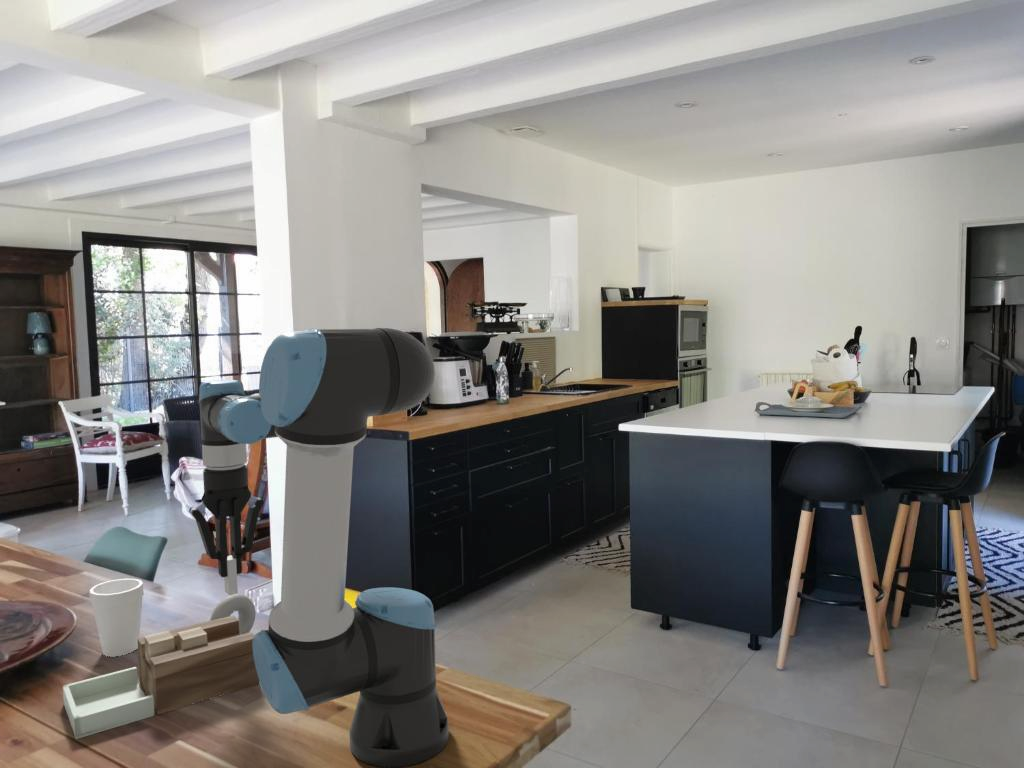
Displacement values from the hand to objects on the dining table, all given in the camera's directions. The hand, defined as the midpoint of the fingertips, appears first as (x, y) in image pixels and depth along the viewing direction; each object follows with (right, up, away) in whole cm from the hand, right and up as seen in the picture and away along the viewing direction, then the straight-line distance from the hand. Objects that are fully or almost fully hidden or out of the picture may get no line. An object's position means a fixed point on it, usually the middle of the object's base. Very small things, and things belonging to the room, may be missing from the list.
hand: (231, 592), depth 142 cm
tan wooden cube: (-10, -10, -6) cm, 16 cm away
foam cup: (-26, -15, +12) cm, 33 cm away
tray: (-17, -17, -12) cm, 26 cm away
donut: (-5, -14, +15) cm, 21 cm away
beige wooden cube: (-5, -10, -5) cm, 12 cm away
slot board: (-5, -16, -3) cm, 17 cm away
